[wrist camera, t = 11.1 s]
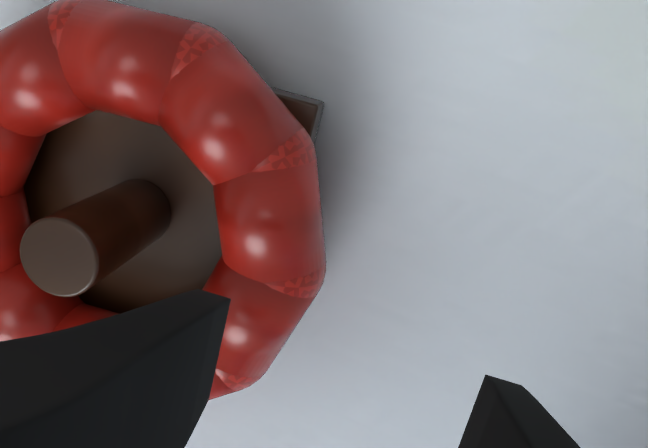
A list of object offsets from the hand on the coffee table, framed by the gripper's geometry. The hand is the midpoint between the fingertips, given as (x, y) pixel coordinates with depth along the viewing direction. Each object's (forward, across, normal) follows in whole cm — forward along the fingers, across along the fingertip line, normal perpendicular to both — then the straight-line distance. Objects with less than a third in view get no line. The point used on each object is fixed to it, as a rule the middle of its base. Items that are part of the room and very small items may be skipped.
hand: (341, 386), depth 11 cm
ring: (+6, +7, +1) cm, 10 cm away
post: (+9, +7, +1) cm, 11 cm away
